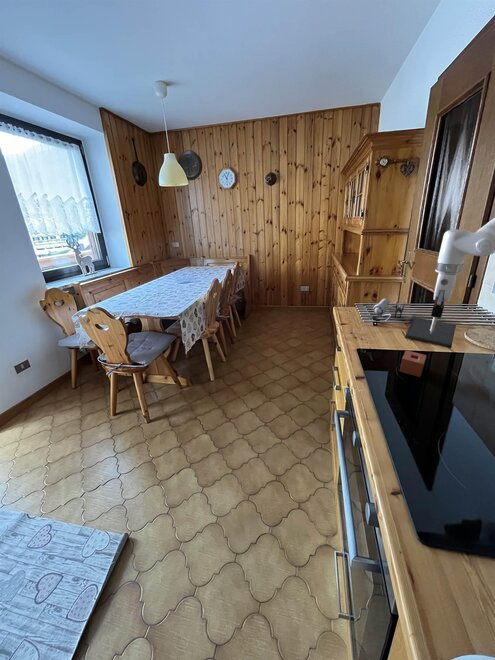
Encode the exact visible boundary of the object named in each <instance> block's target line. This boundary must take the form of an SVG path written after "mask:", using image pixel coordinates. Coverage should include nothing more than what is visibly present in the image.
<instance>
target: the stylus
mask: <svg viewBox="0 0 495 660" xmlns="http://www.w3.org/2000/svg"><path fill="white" fill-rule="evenodd" d="M432 320H433V321H432V325H431V328H430V331H431V334H432V332H434V329H435V325H436V322H437V321H438V318H437V317H432Z"/></svg>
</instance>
